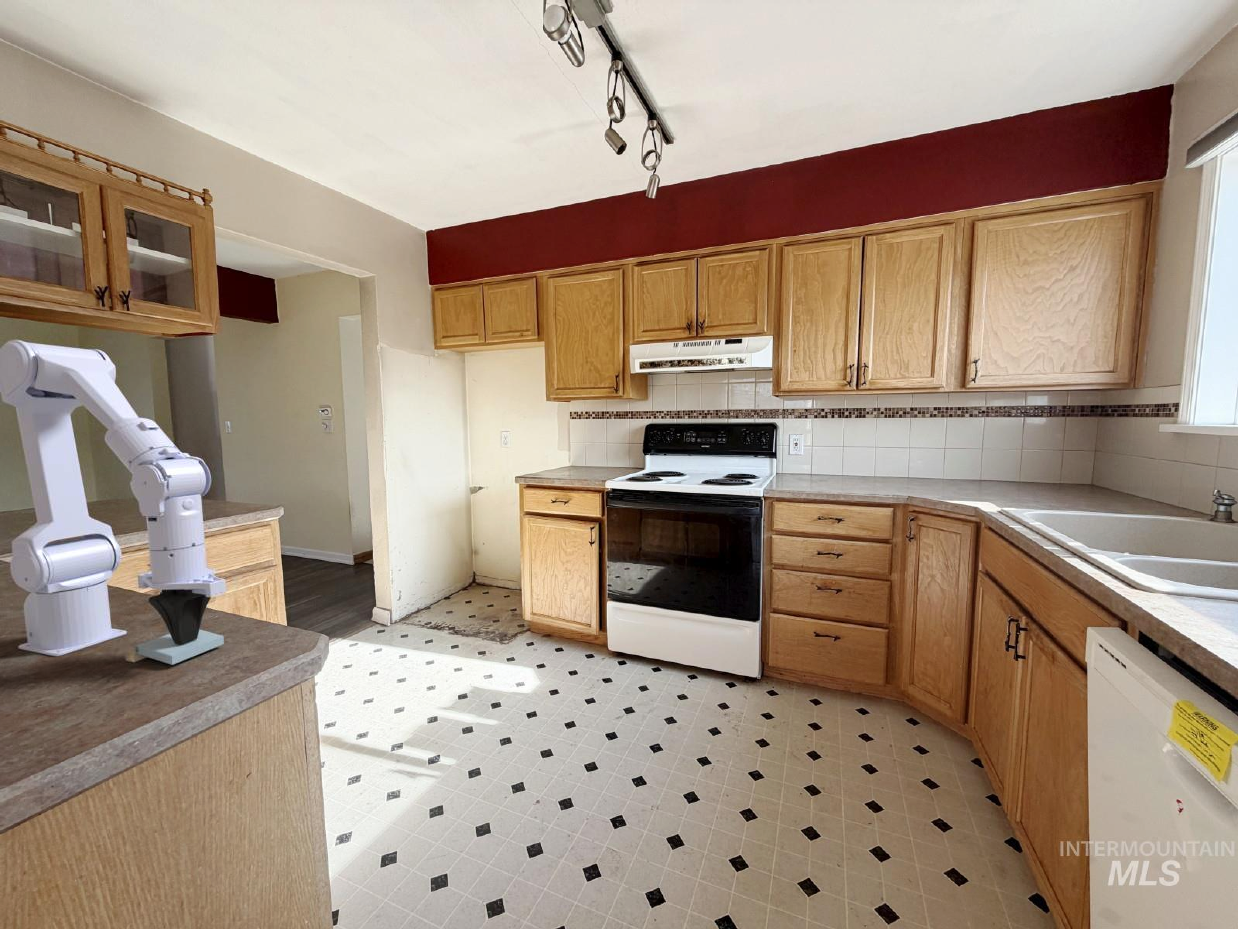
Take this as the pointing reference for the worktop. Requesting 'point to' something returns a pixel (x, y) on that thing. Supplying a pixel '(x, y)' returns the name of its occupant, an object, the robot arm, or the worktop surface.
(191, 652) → the panel
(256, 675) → the worktop surface
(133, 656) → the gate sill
